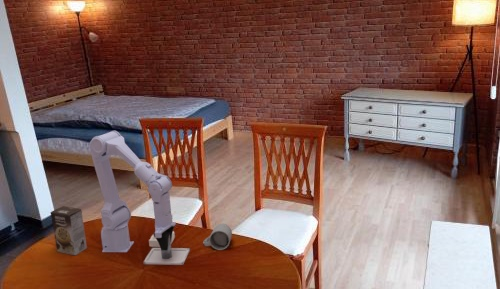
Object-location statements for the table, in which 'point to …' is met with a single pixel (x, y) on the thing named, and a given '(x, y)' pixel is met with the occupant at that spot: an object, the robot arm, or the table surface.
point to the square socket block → (154, 242)
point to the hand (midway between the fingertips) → (166, 247)
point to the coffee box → (68, 230)
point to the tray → (176, 259)
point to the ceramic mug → (219, 237)
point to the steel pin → (167, 251)
